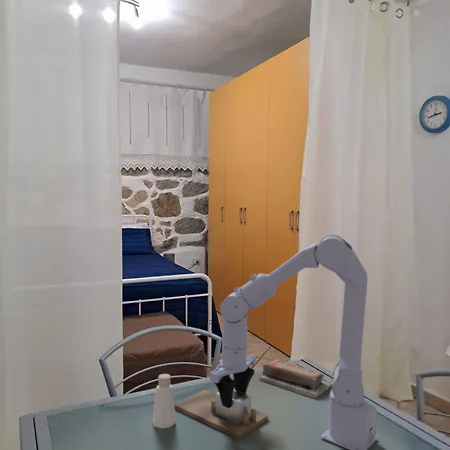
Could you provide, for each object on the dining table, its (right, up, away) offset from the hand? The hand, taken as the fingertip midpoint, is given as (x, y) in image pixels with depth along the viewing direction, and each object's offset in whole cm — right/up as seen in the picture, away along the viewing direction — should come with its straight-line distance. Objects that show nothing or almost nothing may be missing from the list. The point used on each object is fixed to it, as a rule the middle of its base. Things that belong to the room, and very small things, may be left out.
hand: (233, 402), depth 102 cm
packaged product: (+18, -4, +21) cm, 28 cm away
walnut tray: (-3, -4, +3) cm, 6 cm away
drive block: (0, -3, 0) cm, 3 cm away
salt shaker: (-16, -4, -2) cm, 17 cm away
